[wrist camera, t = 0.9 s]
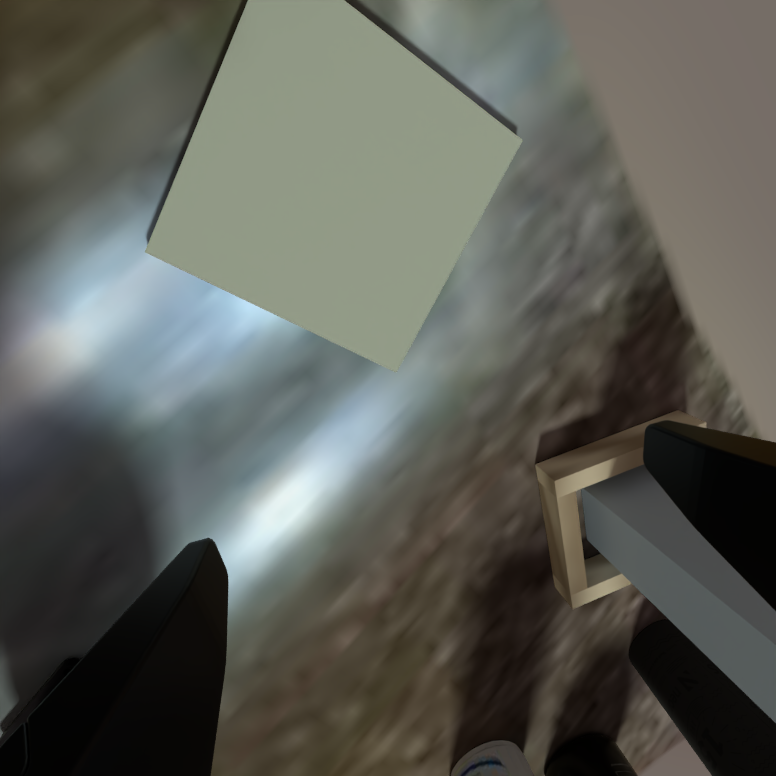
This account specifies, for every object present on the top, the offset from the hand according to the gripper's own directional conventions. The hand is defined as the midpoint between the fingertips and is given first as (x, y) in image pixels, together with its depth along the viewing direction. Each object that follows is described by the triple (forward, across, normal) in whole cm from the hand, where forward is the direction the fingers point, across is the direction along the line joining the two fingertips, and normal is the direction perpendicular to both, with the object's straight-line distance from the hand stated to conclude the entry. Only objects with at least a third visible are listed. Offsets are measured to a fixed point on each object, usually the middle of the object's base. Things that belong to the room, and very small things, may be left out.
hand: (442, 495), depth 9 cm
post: (+14, -14, +15) cm, 25 cm away
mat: (+14, 0, -6) cm, 15 cm away
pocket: (+14, -14, +15) cm, 25 cm away
